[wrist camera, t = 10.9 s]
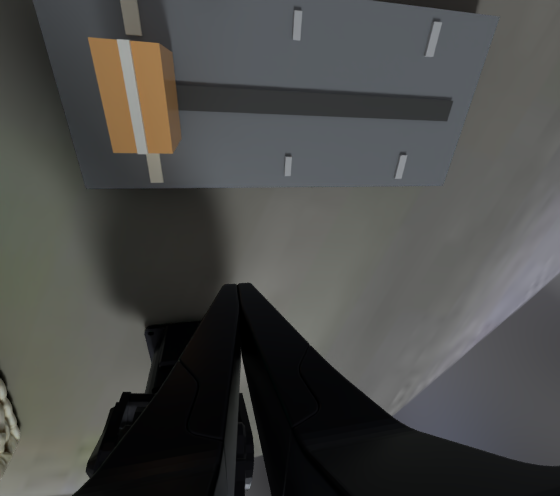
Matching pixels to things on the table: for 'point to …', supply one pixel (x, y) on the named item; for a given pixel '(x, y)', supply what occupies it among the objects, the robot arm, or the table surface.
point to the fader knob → (137, 95)
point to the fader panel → (278, 89)
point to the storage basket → (7, 430)
